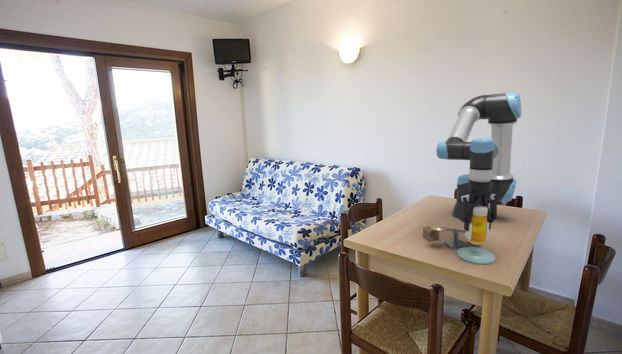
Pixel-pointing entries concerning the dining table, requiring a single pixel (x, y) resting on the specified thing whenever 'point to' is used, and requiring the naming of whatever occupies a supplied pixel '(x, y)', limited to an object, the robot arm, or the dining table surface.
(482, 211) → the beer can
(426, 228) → the walnut block
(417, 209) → the dining table surface
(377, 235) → the dining table surface
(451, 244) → the balance
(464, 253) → the dish
